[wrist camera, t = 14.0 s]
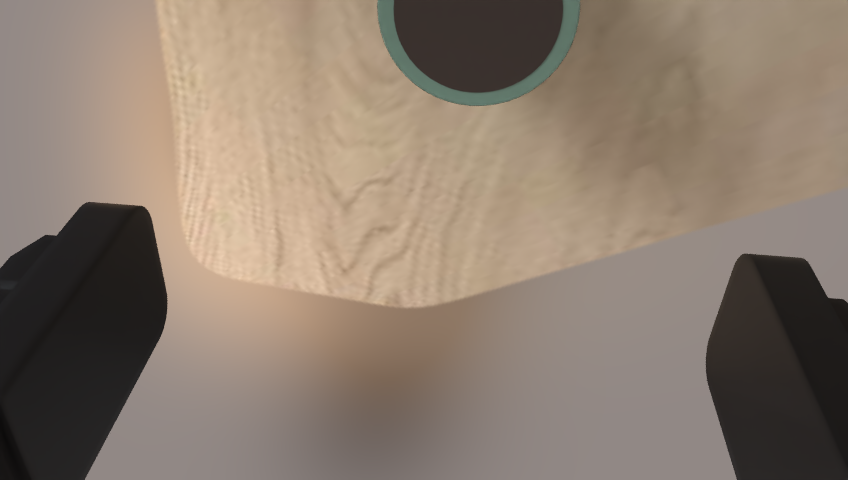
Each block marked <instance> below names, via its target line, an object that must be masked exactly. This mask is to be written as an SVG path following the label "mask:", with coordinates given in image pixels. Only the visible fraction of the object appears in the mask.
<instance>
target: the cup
mask: <svg viewBox="0 0 848 480" xmlns="http://www.w3.org/2000/svg"><path fill="white" fill-rule="evenodd" d="M377 10H378V21H379V26H380V31H381V35H382V38H383V41H384V43H385V46H386V48H387V50H388V52H389V54H390V56H391V57H392V59H393V60H394V62H395V63H396V65H397V66H398V68H399V69H400V70H401V71H402V72H403V73H404V75H405V76H406V77H407V78H409V79H410V80H411V81H412V82H413V83H414V84H415V85H417V86H418V87H420V88H421V89H422V90H424V91H426V92H427V93H429V94H431V95H433V96H435V97H437V98H440V99H442V100H445V101H448V102H452V103H456V104H461V105H469V106H486V105H494V104H499V103H503V102H507V101H510V100H513V99H515V98H518V97H520V96H522V95H524V94H526V93H528V92H530V91H532V90H533V89H534V88H536V87H537V86H539V85H540V84H542V83H543V82H544V81H545V80H546V79H547V78H548V77H550V76H551V74H552V73H553V72H554V71H555V70H556V69H557V68H558V67H559V65H560V64H561V62H562V61H563V59H564V58H565V56H566V55H567V53H568V51H569V49H570V47H571V45H572V43H573V40H574V37H575V34H576V31H577V27H578V22H579V16H580V0H378V3H377Z"/></svg>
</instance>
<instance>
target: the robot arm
mask: <svg viewBox="0 0 848 480" xmlns="http://www.w3.org/2000/svg"><path fill="white" fill-rule="evenodd" d="M166 314H167V293H166V287H165V282H164V277H163V272H162V267H161V262H160V258H159V253H158V248H157V243H156V238H155V233H154V229H153V224H152V219H151V216H150V214H149V212H148V210H147V209H146V208H145V207H143V206H135V205H121V204H108V203H95V202H88V203H85V204H83V205H82V206H81V207H80V208H79V209H78V210H77V212H76V213H75V214H74V215H73V217H72V218H71V219H70V220H69V221H68V223H67V224H66V225H65V226H64V227H63V229H62V230H61V231H60V232H59V234H58V235H57V236H53V235H45V236H43V237H42V238H40V239H38V240H37V241H35V242H33V243H32V244H30V245H29V246H27V247H25V248H24V249H22V250H20V251H19V252H17V253H16V254H14V255H12V256H11V257H10V258H9V259H8V260H7V261H6V263H5V264H4V265H3V266H2V267H1V268H0V480H85V478H86V476H87V474H88V472H89V470H90V468H91V466H92V464H93V462H94V461H95V459H96V457H97V455H98V453H99V451H100V450H101V448H102V446H103V444H104V442H105V440H106V438H107V436H108V434H109V432H110V431H111V429H112V427H113V425H114V423H115V421H116V420H117V418H118V416H119V414H120V412H121V410H122V408H123V406H124V405H125V403H126V400H127V399H128V397H129V395H130V393H131V391H132V389H133V388H134V385H135V384H136V382H137V380H138V378H139V376H140V374H141V372H142V370H143V369H144V367H145V365H146V363H147V361H148V359H149V358H150V356H151V354H152V352H153V350H154V348H155V346H156V344H157V342H158V341H159V339H160V337H161V334H162V332H163V329H164V325H165V321H166ZM706 374H707V381H708V385H709V389H710V392H711V396H712V399H713V402H714V405H715V409H716V412H717V415H718V418H719V422H720V425H721V428H722V432H723V435H724V438H725V442H726V445H727V448H728V452H729V455H730V458H731V461H732V465H733V468H734V471H735V474H736V477H737V480H848V303H847V302H846V301H845V300H843V299H832V298H828V297H827V295H826V294H825V292H824V290H823V288H822V286H821V284H820V283H819V281H818V279H817V277H816V275H815V273H814V272H813V270H812V268H811V266H810V265H809V263H808V262H807V261H806V260H805V259H803V258H795V257H782V256H769V255H756V254H742V255H741V256H740V257H739V258H738V259H737V261H736V263H735V265H734V268H733V271H732V273H731V276H730V279H729V282H728V285H727V288H726V291H725V294H724V297H723V300H722V302H721V306H720V309H719V311H718V314H717V317H716V320H715V323H714V326H713V329H712V332H711V335H710V338H709V341H708V346H707V353H706Z"/></svg>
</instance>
